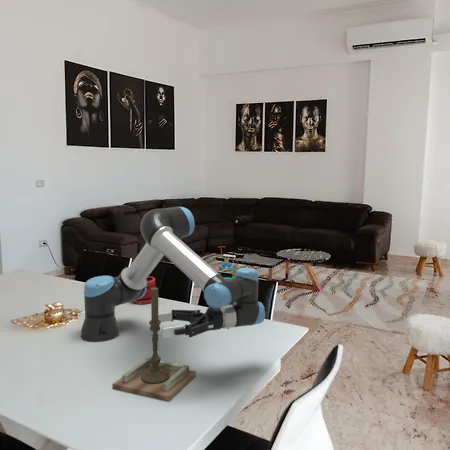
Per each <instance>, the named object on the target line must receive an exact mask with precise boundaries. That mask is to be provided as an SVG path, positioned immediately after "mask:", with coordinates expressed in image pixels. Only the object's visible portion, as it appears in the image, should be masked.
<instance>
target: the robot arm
mask: <svg viewBox="0 0 450 450" xmlns="http://www.w3.org/2000/svg"><path fill="white" fill-rule="evenodd" d="M195 226H196V225H195V218H194V215H193V213H192V212H191V210H189V209H188V208H186V207H184V206H172V207H162V208H154V209H151V210H149V211H147V212H146V213H145V214H144V215H143V217H142V218H141V221H140V227H139V228H140V233H141V235H142V238H143V240H144V241H145V244H144V246H143V247H142V249H141V250H140V252H139V253H138V254H137V256H136V257H135V259H133V261H132V263H131V264H130V265H129V266H128V267H124V268H123V269H122V271H121V272H120V273H119V275H118V276H115V277H113V276H112V275H111V276H110V275H99V276H94V277H91V278H89V279H88V280H86V281H85V283H84V286H83V297H84V320H83V323H82V326H81V330H80V337H81V339H83V340H85V341H88V342H104V341H109V340H113V339H114V338H116V337H119V335H120V326H119V324H118V321H117V318H116V315H115V314H116V313H115V309H116V306H117V307H118V306H120V305H124V304H128V303H131V302H132V303H134V302H133V301H136V300H138V299H140V298H142V297H143V296H144V295H145V293H146V290H147V288H146V287H147V280H146V279H147V277H148V276H149V275H151V273H152V272H153V271H154V269H155V268H156V267H157V265H158V264H159V263H160V261H161V260H162V259H163V257H164V256H165V257H166V258H167V259H168V260H169V262H171V263H172V264H173V265H174V266H176V267H177V268H178V269H179V270H180V271H181V272H182V273H184V275H185V276H186V277H187V278H188V279H190V280H191V281H192V282H193V283H194V284H195V285H196V286H197V287H198V288H200V289H201V291H203V299H204V300H205V302H206V304H207V306H208V307H207V309H206V312H202V311H201V309H194V310H192V309H190V310H189V309H172V310H171V311H170V312H163V313H158V320H160V321H161V323H166V322H171V323H172V322H174V321H182V322H189V324H184V325H177V326H170V327H169V326H168V327H163V328H162V338H170V337H171V338H172V337H176V336H177V337H179V336H183V335H184V336H188V337H189V338H192V337H195V336H198V335H200V334H203V333H206V332H209V331H218V330H221V329H222V330H223V329H227V330H230V328H238V327H246V326H250V327H251V326H255V325H259V324H261V323H263V322H264V321H265V319H266V311H265V306H264V303H262V302H260V301H259V300H258V299H259V298H258V297H259V272H258V270H257V269H256V268H252V267H240V268H238V269H236V271H235V274H234V275H235V278H234V277H231V278H232V279H229V280H225V279H224V278H225V277H223V275H222V274H221V275H220V274H219V272H217V271H216V270H215V269H214V268H213V267H212V266H211V265H209V263H208V262H206V261H205V260H204V259H203V258H202V257H200V255H198V254H197V253H196V252H195V251H194V250H193V249H191V248H190V247H189V246H188V245H187V244H186V243H184V241H182V239H183V238H186V237H189V236H191V235H192V234H193V233H194V230H195ZM234 302H236V304H234V305H232V304H233V303H234ZM228 304H230V305H228ZM114 307H115V308H114Z"/></svg>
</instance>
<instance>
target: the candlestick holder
mask: <svg viewBox="0 0 450 450" xmlns="http://www.w3.org/2000/svg"><path fill="white" fill-rule="evenodd" d="M150 303H151V304H150V306H151V315H150V316H151V318H150V320H149V321H148V324H149V326H150V327H149V331H150V332H151V333H152V335H151V336H152V338H151V342H152V351H153V352H152V354H151V356H150V357H149V358H150V362H151V364H152V368H151V369H149V370H148V371H146V372H144V373H143V374H142V376H141V379H142V381H144V382H145V383H149V384H159V383H163V382H165V381H167V380H168V379H169V377H170V374H169V373H168V372H167V371H165V370H163V369H161V368H159V367H158V366H159V365H158V364H159V363H160V361H162V358H161V356H159V353H158V350H159V345H158V343H159V334H158V332H159V331H161V323H162V322H161V321H160V320H158V314H159V288H158V287H157V286H156V285H155V288H151V302H150Z"/></svg>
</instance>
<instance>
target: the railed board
mask: <svg viewBox="0 0 450 450" xmlns="http://www.w3.org/2000/svg"><path fill="white" fill-rule="evenodd" d="M158 365H159V366H158V367H159V368H161V369H163V370H165V371H167V372H168V373H169V374H170V377H169V379H168V380H167V381H165V382H163V383H159V384H149V383H145V382H144V381H142V379H141V376H142V374H143V373H144V372H146V371H148V370H149V369H151V368H152V364H151V362H150V357H146V358H145V359H143V360H142V361H141V362H139V363H138V364H137V365H135V366H134V367H133V368H131V369H129V370H128V371H126V372H125V373H124V374H123V375H122V377H120V378H119V379H117V380H116V381H114V382H113V383H112V384H111V386H112V387H111V388H112V389H113V390H117V391H122V392H124V393H125V392H126V393H130V394H134V395H140V396H144V397H148V398H153V399H156V400H161V401H165V402H170V401H171V400H172V399H173V398H174V397H175V396H176V395H178V394H179V393H180V392H181V391H182V390H183V389H184V388H185V387H186V386H187V385H188V384H190V382H192V380H193V379H194V378H196V375H197V371H196V370H190V365H185V364H180V363H176V362H175V363H174V362H171V361H165V360H160V363H159V364H158Z"/></svg>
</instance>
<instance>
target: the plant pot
mask: <svg viewBox="0 0 450 450" xmlns="http://www.w3.org/2000/svg"><path fill="white" fill-rule="evenodd" d="M146 280H147V287H146V288H147V290H146V293H145V295H144V296H143V297H142V298H140V299H138V300H136V301H133V302H132V303H135V304H138V305H145V304H149V303H151V288H156V287H155V286H156V278H155V277H153V276H148V277H147V279H146Z"/></svg>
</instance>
